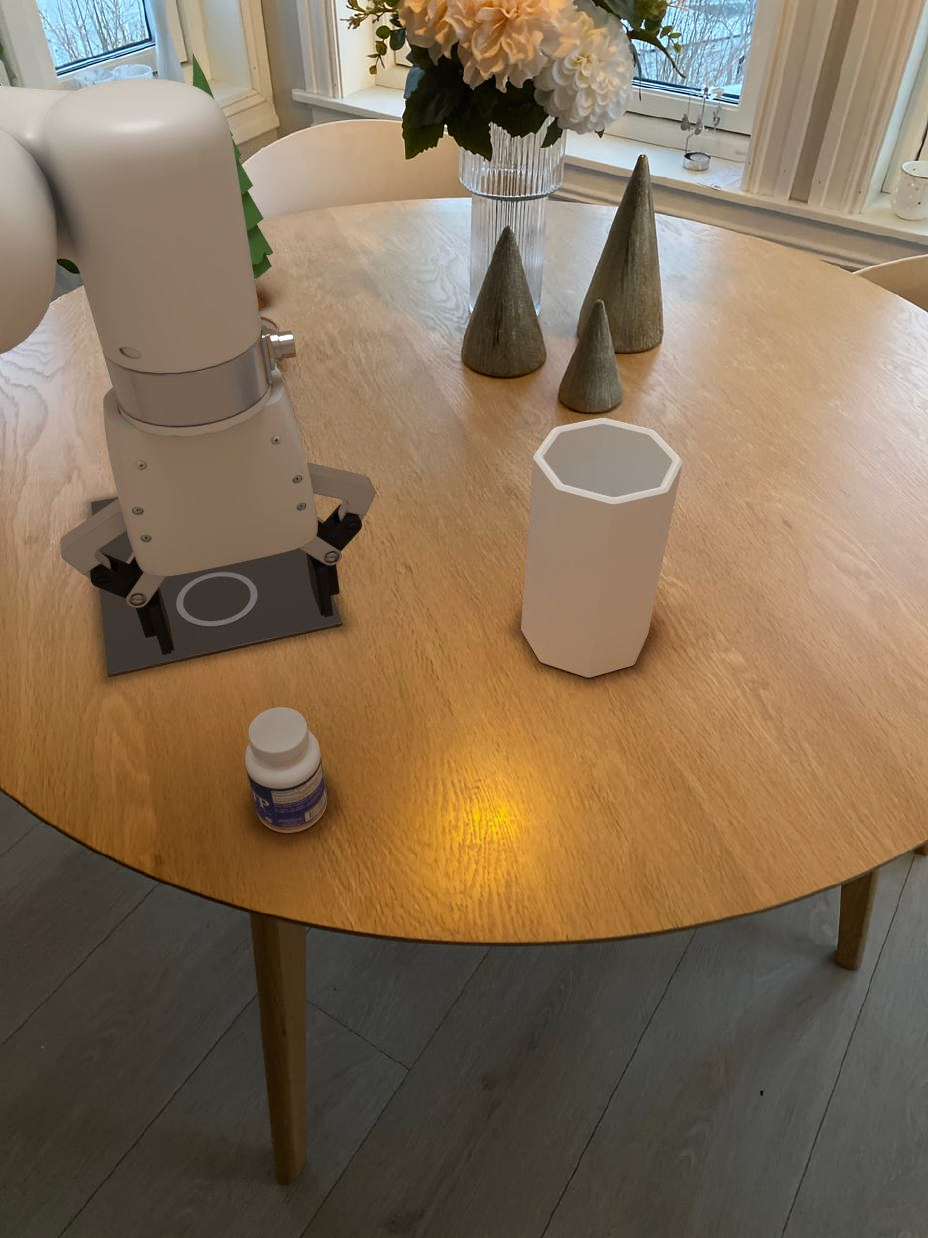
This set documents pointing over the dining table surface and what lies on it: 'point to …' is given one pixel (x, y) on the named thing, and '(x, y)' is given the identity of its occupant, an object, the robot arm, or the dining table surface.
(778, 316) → the dining table surface
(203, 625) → the hob
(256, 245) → the decorative tree
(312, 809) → the pill bottle
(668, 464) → the cup
